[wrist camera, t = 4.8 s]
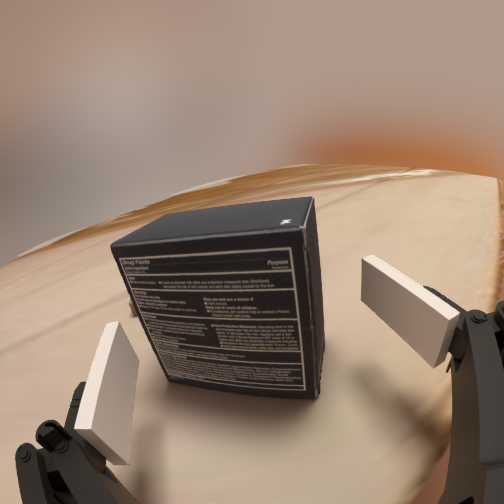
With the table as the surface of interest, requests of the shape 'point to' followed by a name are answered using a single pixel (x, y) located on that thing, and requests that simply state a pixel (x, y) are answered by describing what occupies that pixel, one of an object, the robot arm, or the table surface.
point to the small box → (231, 296)
